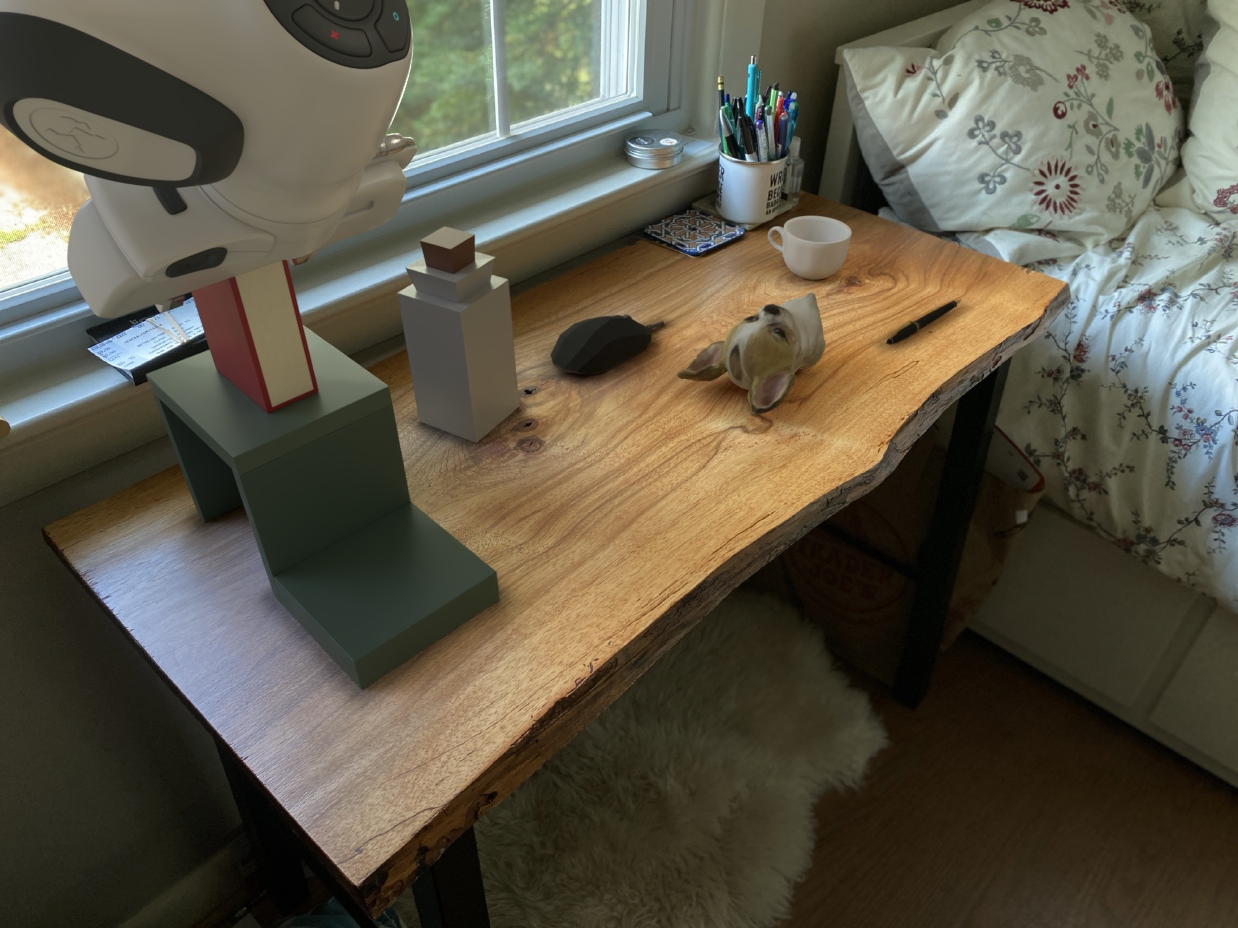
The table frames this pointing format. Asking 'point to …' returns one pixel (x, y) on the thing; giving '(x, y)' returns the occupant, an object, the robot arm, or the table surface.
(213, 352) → the book
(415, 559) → the shelf
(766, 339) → the ceramic sculpture
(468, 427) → the perfume bottle
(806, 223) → the teacup
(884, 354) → the table surface
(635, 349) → the gaming mouse
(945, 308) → the fountain pen
